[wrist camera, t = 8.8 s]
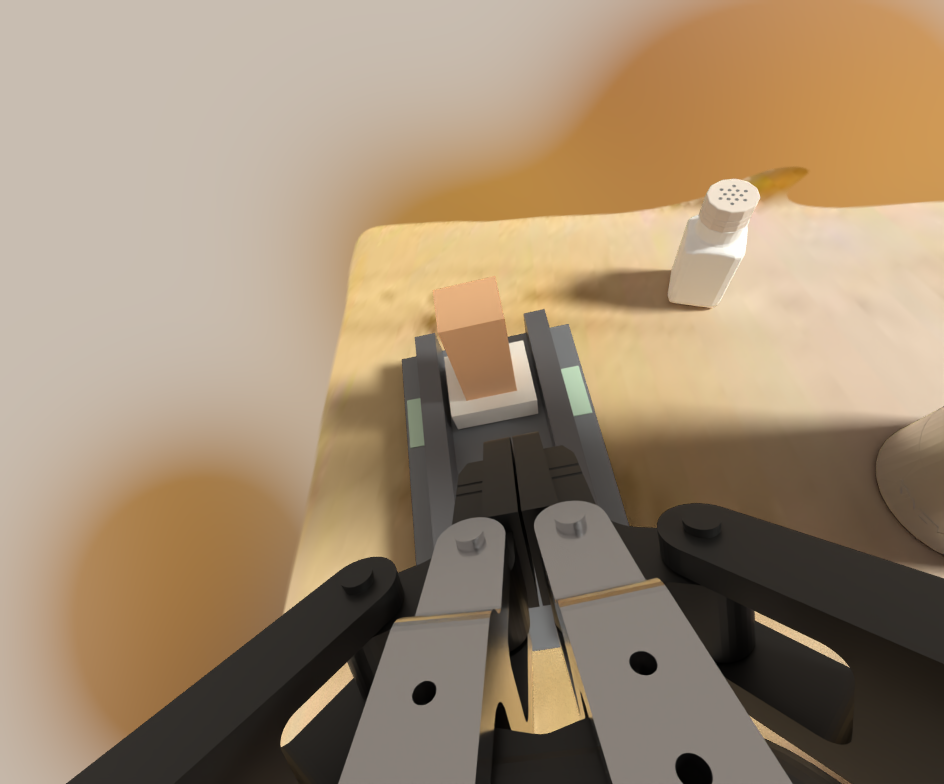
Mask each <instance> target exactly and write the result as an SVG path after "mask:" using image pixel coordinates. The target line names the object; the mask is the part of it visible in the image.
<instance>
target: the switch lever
mask: <svg viewBox="0 0 944 784" xmlns="http://www.w3.org/2000/svg"><path fill="white" fill-rule="evenodd" d="M433 296H434V304H435V312H436V321H437V329H438V334H439V337H440V339H441V341H442V344H443V346H444V348H445V351H446V353H447V356H446V357H444V361H445V368H446V376H447V384H448V392H449V400H450V408H451V416H452V419H453V421H454V422H455V424H456V426H457V428H458V429H462V428H468V427H473V426H478V425H483V424H488V423H493V422H498V421H503V420H508V419H513V418H518V417H524V416H529V415H534V414H538V405H537V398H536V393H535V389H534V385H533V380H532V376H531V372H530V368H529V363H528V359H527V355H526V351H525V346H524V342H523V340H522V341H517V342H512V343H509V342H508V336H507V331H506V325H505V319H504V314H503V310H502V305H501V301H500V296H499V291H498V287H497V282H496V277H495V276H493V277H488V278H484V279H480V280H475V281H471V282H466V283H462V284H458V285H453V286H449V287H444V288H440V289H436V290H433Z"/></svg>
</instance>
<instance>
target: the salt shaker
mask: <svg viewBox="0 0 944 784" xmlns="http://www.w3.org/2000/svg"><path fill="white" fill-rule="evenodd" d="M759 199H760V195H759V192H758V190H757V188H756V187H754V186H753V185H752V184H750V183H749V182H747V181H742V180H738V179H728V180H721V181H720V182H717V183H715V184H713V185H711V187H710V188H709V190H708V192H707V193H706V196H705V199H704V201H703V204H702V207H701V210H700V213H699V215H696V216H694V217H691V218H690V219H689V220H688V222H687V225H686V228H685V231H684V234H683V237H682V240H681V243H680V246H679V249H678V252H677V255H676V258H675V261H674V264H673V267H672V270H671V276H670V282H669V289H668V298H669V301H670V302H672V303H677V304H685V305H692V306H700V307H708V308H712V307H716V306H717V305H718V303H719V302H720V300H721V299H722V297H723V295H724V293H725V291H726V289H727V287H728V285H729V283H730V281H731V280H732V278H733V276H734V274H735V272H736V270H737V268H738V266H739V264H740V262H741V260H742V259H743V257H744V255H745V250H746V243H747V225H748V223H749V220H750V217H751V215H752V213H753V211H754V209H755V207H756V205H757V203H758V201H759Z"/></svg>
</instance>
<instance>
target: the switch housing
mask: <svg viewBox="0 0 944 784" xmlns="http://www.w3.org/2000/svg"><path fill="white" fill-rule="evenodd" d="M524 322H525V331H526V333H524V334H519V335H514V336H510V337H508V342H509V343H512V342H517V341H522V340H523V342H524V346H525V351H526V355H527V359H528V363H529V368H530V372H531V376H532V380H533V385H534V389H535V393H536V398H537V405H538V414H534V415H529V416H524V417H518V418H513V419H508V420H503V421H498V422H493V423H488V424H483V425H478V426H473V427H468V428H462V429H458V428H457V426H456V424H455V422H454V421H453V419H452V416H451V408H450V400H449V392H448V384H447V376H446V368H445V361H444V357H446V356H447V353H446V351H445V350H444V351H442V349H441V346H440V344H439V342H438V339H437V337H436V335H435V333H433V334H428V335H423V336H419V337H415V344H416V355H417V356H416V357H411V358H407V359H402V369H403V383H404V397H405V411H406V426H407V440H408V454H409V468H410V483H411V497H412V511H413V526H414V540H415V554H416V565H419V564H421V563H423V562H425V561H427V560H429V559H430V558H432V555H433V552H434V548H435V545H436V542H437V539H438V538H439V536H440V535H441V534H442V533H443V532H444V531H445V530H446V529H447V528H449V527H450V526H452V520H453V513H454V505H455V498H456V490H457V483H458V475H459V473H460V472H461V471H462V470H463V468H464V467H465V466H466V465H467V463H472V462H477V461H482V460H483V443H484V442H487V441H492V440H497V439H502V438H507V437H510V439H511V443H512V447H513V440H512V436H517V435H522V434H527V433H532V432H537V431H539V435H540V438H541V442H542V445H543V449H544V448H550V447H555V446H560V445H563V446H564V447H566V448H568V449H569V450H571V451H572V452H574V454H575V456H576V458H577V461H578V463H579V465H580V468H581V470H582V473H583V475H584V477H585V480H586V482H587V484H588V487H589V489H590V491H591V494H592V496H593V499H594V501H595V503H596V505H597V506H599V507H600V508H602V509H603V510H604V511H605V512H606V514H607V515H608V517H609V519H610V520H611V521H613V522H616V523H618V524H622V525H626V526H629V523H628V520H627V517H626V513H625V510H624V507H623V503H622V500H621V497H620V493H619V490H618V487H617V483H616V480H615V477H614V473H613V470H612V467H611V463H610V460H609V457H608V454H607V450H606V447H605V444H604V440H603V437H602V434H601V430H600V427H599V424H598V420H597V417H596V414H595V410H594V407H593V404H592V400H591V397H590V394H589V390H588V387H587V384H586V380H585V377H584V374H583V371H582V367H581V364H580V361H579V357H578V354H577V351H576V347H575V344H574V341H573V337H572V334H571V331H570V327H569V324H566V325H561V326H556V327H552V328H549V324H548V320H547V317H546V313H545V310H544V309H543V310H538V311H534V312H529V313H525V314H524ZM513 452H514V448H513ZM534 570H535V569H534ZM535 577H536V573H535ZM536 584H537V591H538V598H539V605H540V607H534V608H529V616H530V629H529V632H530V636H531V640H532V651H538V650H545V649H552V648H558V647H560V644H559V640H558V635H557V631H556V626H555V621H554V617H553V612H552V608H551V605H546V606H543V604H542V600H541V595H540V591H539V587H538V582H537V578H536Z"/></svg>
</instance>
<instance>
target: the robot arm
mask: <svg viewBox="0 0 944 784" xmlns="http://www.w3.org/2000/svg"><path fill="white" fill-rule="evenodd" d="M512 440H513V447H512V443H511V439H510V437H507V438H502V439H497V440H492V441H487V442H484V443H483V460H482V461H477V462H472V463H467V465H466V466H465V467H464V468H463V470H462V471H461V472H460V473H459V475H458V483H457V490H456V498H455V505H454V513H453V520H452V526H450V527H449V528H447V529H446V530H445V531H444V532H443V533H442V534H441V535H440V536H439V538H438V539H437V542H436V545H435V548H434V552H433V555H432V558H430V559H429V560H427V561H425V562H423V563H421V564H419V565H416V566H414V567H411V568H409V569H406V570H404V571H401V572H399V573H398V572H397V569H396V567H395V564H394V563H393V562H392V561H391V560H389V559H387V558H384V557H370V558H365V559H361V560H358V561H356V562H354V563H352V564H350V565H348V566H346V567H344V568H343V569H341V570H340V571H339V572H337V573H336V574H335V575H334V576H332V577H331V578H330V579H328V580H327V581H326V582H325V583H323V584H322V585H321V586H319V587H318V588H317V589H316V590H314V591H313V592H312V593H310V594H309V595H308V596H307V597H305V598H304V599H303V600H301V601H300V602H299V603H298V604H296V605H295V606H294V607H292V608H291V609H290V610H289V611H287V612H286V613H285V614H283V615H282V616H281V617H280V618H278V619H277V620H276V621H275V622H273V623H272V624H271V625H269V626H268V627H267V628H265V629H264V630H263V631H262V632H260V633H259V634H258V635H256V636H255V637H254V638H253V639H251V640H250V641H249V642H247V643H246V644H245V645H244V646H242V647H241V648H240V649H239V650H237V651H236V652H235V653H233V654H232V655H231V656H230V657H228V658H227V659H226V660H224V661H223V662H222V663H221V664H219V665H218V666H217V667H215V668H214V669H213V670H212V671H210V672H209V673H208V674H207V675H205V676H204V677H203V678H201V679H200V680H199V681H198V682H196V683H195V684H194V685H192V686H191V687H190V688H188V689H187V690H186V691H185V692H183V693H182V694H181V695H179V696H178V697H177V698H176V699H174V700H173V701H172V702H170V703H169V704H168V705H167V706H165V707H164V708H163V709H161V710H160V711H159V712H158V713H156V714H155V715H154V716H153V717H151V718H150V719H149V720H148V721H146V722H145V723H143V724H142V725H141V726H140V727H138V728H137V729H136V730H135V731H134V732H132V733H131V734H129V735H128V736H127V737H126V738H124V739H123V740H122V741H120V742H119V743H118V744H117V745H115V746H114V747H113V748H111V749H110V750H109V751H107V752H106V753H105V754H104V755H102V756H101V757H100V758H99V759H97V760H96V761H95V762H93V763H92V764H91V765H90V766H88V767H87V768H86V769H84V770H83V771H82V772H81V773H79V774H78V775H77V776H75V777H74V778H73V779H72V780H70V781H69V782H68V783H66V784H841V783H840V782H838V781H837V780H836V779H834V778H833V777H831V776H830V775H828V774H827V773H826V772H824V771H823V770H821V769H820V768H818V767H817V766H815V765H814V764H812V763H810V762H808V761H807V760H805V759H803V758H802V757H800V756H798V755H796V754H795V753H793V752H791V751H790V750H788V749H785V748H783V747H781V746H779V745H777V744H775V743H773V742H771V741H769V740H767V739H764V738H763V737H762V735H761V734H760V732H759V730H758V729H757V727H756V726H755V724H754V723H753V721H752V720H751V718H750V716H751V717H752V718H754V719H755V720H757V721H758V722H760V723H761V724H763V725H764V726H766V727H767V728H769V729H770V730H772V731H773V732H775V733H776V734H778V735H779V736H781V737H782V738H784V739H785V740H787V741H788V742H790V743H791V744H793V745H794V746H796V747H798V748H799V749H801V750H802V751H804V752H805V753H807V754H808V755H810V756H811V757H813V758H814V759H816V760H817V761H819V762H820V763H822V764H823V765H825V766H826V767H828V768H829V769H831V770H832V771H834V772H835V773H837V774H838V775H840V776H841V777H843V778H844V779H846V780H847V781H849V782H850V783H852V784H944V579H943V578H940V577H937V576H934V575H931V574H928V573H925V572H922V571H919V570H916V569H912V568H909V567H906V566H903V565H900V564H897V563H894V562H891V561H888V560H885V559H881V558H878V557H875V556H872V555H869V554H866V553H863V552H860V551H857V550H854V549H850V548H847V547H844V546H841V545H838V544H835V543H832V542H829V541H826V540H823V539H819V538H816V537H813V536H810V535H807V534H804V533H801V532H798V531H795V530H791V529H788V528H785V527H782V526H779V525H776V524H773V523H770V522H767V521H764V520H760V519H757V518H754V517H751V516H748V515H745V514H742V513H739V512H736V511H733V510H729V509H726V508H723V507H720V506H716V505H711V504H702V503H691V504H683V505H679V506H676V507H673V508H671V509H669V510H667V511H665V512H664V513H663V514H662V515H661V516H660V518H659V519H658V522H657V528H646V527H631V526H626V525H622V524H618V523H616V522H613V521H611V520H610V519H609V517H608V515H607V514H606V512H605V511H604V510H603V509H602V508H600V507H599V506H597V505H596V503H595V501H594V499H593V496H592V494H591V491H590V489H589V487H588V484H587V482H586V480H585V477H584V475H583V473H582V470H581V468H580V465H579V463H578V461H577V458H576V456H575V454H574V452H572V451H571V450H569V449H568V448H566V447H564V446H563V445H560V446H555V447H550V448H544V449H543V445H542V442H541V438H540V435H539V431H537V432H532V433H527V434H522V435H517V436H512ZM513 448H514V452H513ZM876 479H877V482H878V486H879V489H880V493H881V495H882V496H883V498H884V500H885V502H886V504H887V506H888V508H889V509H890V510H891V512H892V513H893V514H894V516H895V517H896V518H897V519H898V521H899V522H900V523H901V524H902V525H903V526H904V527H905V528H906V529H907V530H908V531H909V532H910V533H912V534H913V535H914V536H915V537H916V538H917V539H919V540H920V541H922V542H923V543H924V544H926V545H927V546H929V547H930V548H932V549H933V550H935V551H937V552H939V553H941V554H943V555H944V407H942V408H940V409H938V410H936V411H934V412H932V413H931V414H929V415H927V416H925V417H923V418H921V419H919V420H917V421H916V422H914V423H912V424H910V425H908V426H906V427H904V428H903V429H901V430H899V431H897V432H895V433H894V434H893V435H892V436H891V437H889V438H888V439H887V440H886V441H885V443H884V444H883V446H882V447H881V449H880V451H879V453H878V457H877V461H876ZM534 569H535V570H534ZM535 573H536V577H535ZM536 578H537V582H538V587H539V591H540V595H541V600H542V604H543V606H546V605H551V608H552V612H553V617H554V621H555V626H556V631H557V635H558V640H559V644H560V647H561V651H562V655H563V658H564V662H565V666H566V670H567V673H568V677H569V681H570V684H571V688H572V692H573V695H574V699H575V703H576V707H577V710H578V714H579V718H580V721H577V722H575V723H573V724H570V725H568V726H565V727H563V728H561V729H558V730H556V731H554V732H551V733H548V734H534V703H533V662H532V640H531V636H530V632H529V629H530V616H529V608H534V607H540V605H539V598H538V591H537V584H536ZM754 611H756V612H758V613H760V614H762V615H764V616H766V617H769V618H771V619H773V620H775V621H777V622H779V623H781V624H783V625H785V626H787V627H789V628H791V629H793V630H796V631H798V632H800V633H802V634H804V635H806V636H808V637H810V638H812V639H814V640H816V641H818V642H820V643H822V644H824V645H826V646H827V647H829V648H830V649H832V650H833V651H834V652H836V653H837V654H838V655H839V656H840V657H841V658H842V659H843V660H844V661H845V662H846V663H847V664H848V666H849V667H850V668H849V667H847V666H845V665H843V664H841V663H839V662H837V661H835V660H833V659H831V658H829V657H827V656H825V655H823V654H821V653H819V652H817V651H815V650H813V649H811V648H809V647H807V646H805V645H803V644H801V643H799V642H797V641H795V640H793V639H791V638H789V637H787V636H785V635H783V634H781V633H779V632H777V631H775V630H773V629H771V628H769V627H767V626H765V625H763V624H761V623H759V622H757V621H755V613H754ZM346 662H348V665H349V667H350V670H351V672H352V674H353V677H354V678H353V679H352V680H351V681H350V682H349V683H348V684H347V685H346V686H345V687H344V688H343V689H342V690H341V691H340V692H339V693H338V694H337V695H336V696H335V697H334V698H333V699H332V700H331V701H330V702H329V703H328V704H327V705H326V706H325V707H324V708H323V709H322V710H321V711H320V712H319V713H318V714H317V715H316V716H315V717H314V718H313V720H312V721H311V722H310V723H309V724H308V725H307V726H306V727H305V728H304V729H303V730H302V731H301V732H300V733H299V734H298V735H297V736H296V737H295V738H294V739H293V740H292V741H290V742H289V743H288V744H286V745H285V746H283V747H281V746H280V741H281V735H282V732H283V729H284V727H285V725H286V724H287V722H288V720H289V719H290V718H291V716H292V715H293V714H294V713H295V712H296V711H297V710H298V709H299V708H300V707H301V706H302V705H303V704H304V703H305V702H306V701H307V700H308V699H309V698H310V697H311V696H312V695H313V694H314V693H315V692H316V691H317V690H318V689H319V688H321V687H322V686H323V685H324V684H325V683H326V682H327V681H328V680H329V679H330V678H331V677H332V676H333V675H334V674H335V673H336V672H337V671H338V670H339V669H340V668H341V667H342V666H343V665H344V664H345V663H346Z"/></svg>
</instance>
